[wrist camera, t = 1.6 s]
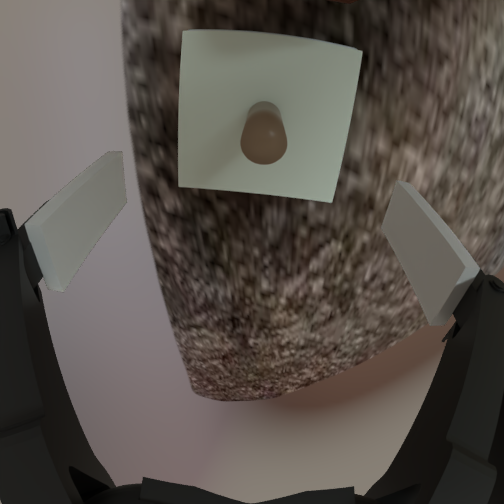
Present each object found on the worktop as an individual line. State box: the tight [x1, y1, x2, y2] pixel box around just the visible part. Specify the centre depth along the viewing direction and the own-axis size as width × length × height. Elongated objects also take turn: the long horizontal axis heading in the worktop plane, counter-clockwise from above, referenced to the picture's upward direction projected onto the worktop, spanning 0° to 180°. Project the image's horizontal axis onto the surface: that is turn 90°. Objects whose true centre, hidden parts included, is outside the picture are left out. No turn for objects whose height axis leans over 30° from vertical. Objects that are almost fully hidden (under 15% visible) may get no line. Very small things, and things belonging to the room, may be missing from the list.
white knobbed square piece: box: [178, 30, 363, 203], centre depth 24 cm, size 16×16×13 cm
